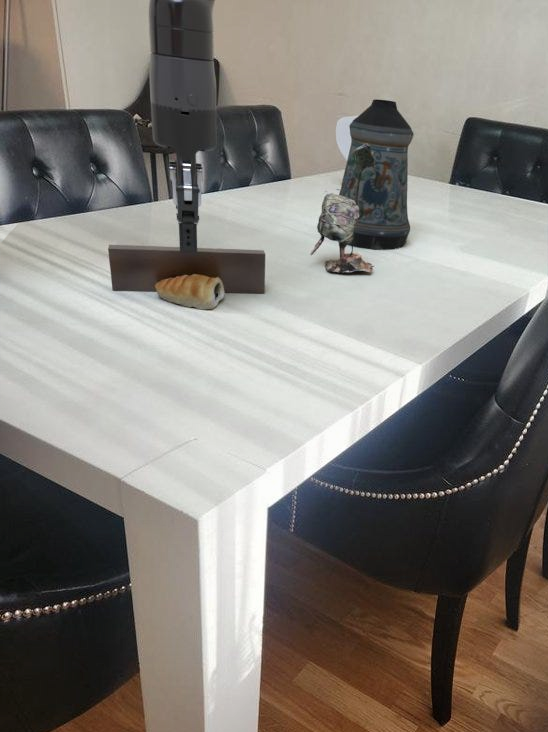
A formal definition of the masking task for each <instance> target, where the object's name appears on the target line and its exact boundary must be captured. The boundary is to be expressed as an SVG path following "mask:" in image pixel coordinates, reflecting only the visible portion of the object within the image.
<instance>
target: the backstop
mask: <svg viewBox="0 0 548 732" xmlns="http://www.w3.org/2000/svg"><path fill="white" fill-rule="evenodd" d="M107 251H108V253H107V254H108V260H109V261H108V263H109V269H110V280H111V287H112V291H113V292H114V291H115V292H116V291H118V292H119V291H120V292H121V291H122V292H157V290H156V288H155V284H156V283H158V282H160V281H161V280H164V279H169V278H176V277H177V276H183V275H188V276H190V275H193V274H197V275H204V276H207V277H210V278H216V277H219V278H220V279H221V281H222V284H223V288H224V292H225V294H265V293H266V292H265V291H266V289H265V288H266V287H265V286H266V253H265V250H264V249H240V248H239V249H237V248H216V247H215V248H212V247H211V248H210V247H197V252H196V253H195V254H187V253H182V252H181V251H180V246H160V245H159V246H158V245H136V244H135V245H134V244H133V245H132V244H130V245H129V244H108V246H107Z"/></svg>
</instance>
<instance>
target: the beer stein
mask: <svg viewBox="0 0 548 732" xmlns="http://www.w3.org/2000/svg"><path fill="white" fill-rule="evenodd" d="M357 116H358V117H357V118H355V119H354V120H353V121H352V123H351V124H350V126H349V128H350V135H351V147H350V151H349V155H348V160H346V164H345V169H344V173H343V176H342V181H341V186H340V188H341V189H340V190H339V194H338V195H341V196H344V197H346V198H350V199H351V200H354V201H355V203H356V189H357V185H358V183H357V182H358V173H359V168H357V166H356V162H355V158H354V150H355V149H357V148H358V147H360V146H363V145H365V144H366V143H367V144H369V145H370V147H371V149H372V152H373V154H374V158H375V162H374V165H375V168H376V171H374V170H373V168H372V167H366V168H365V169H362V174H361V179H360V183H359V192H358V207H359V218H358V220H357V223H356V226H355V231H354V240H353V247H355V248H361V249H366V250H367V249H368V250H374V251H376V250H377V251H378V250H379V251H380V250H381V249H383V250H396V249H400V248H403V246H404V247H405V245H406V243H407V239H408V237H409V235H410V232H411V225H410V221H409V215H408V177H409V176H408V174H409V173H408V169H409V167H408V166H409V164H408V163H409V162H408V160H409V158H408V157H409V155H408V151H409V146H410V144H412V141H413V138H414V136H415V135H414V134H415V133H414V131H413V129H412V127H411V125H409V123H408V121H407V120H406V119H405V118H404V116H403V114H401V113H400V111H399V110H398V106H397V101H394V100H387V99H372V102H371V104H370V105H369V106H368V107H367V108H366V109H365V110H364V111H362V112H361V113H360V114H359V115H357ZM347 246H351V247H352V242H351V243H349V244H348V245H347ZM399 247H400V248H399ZM395 248H396V249H395Z"/></svg>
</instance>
